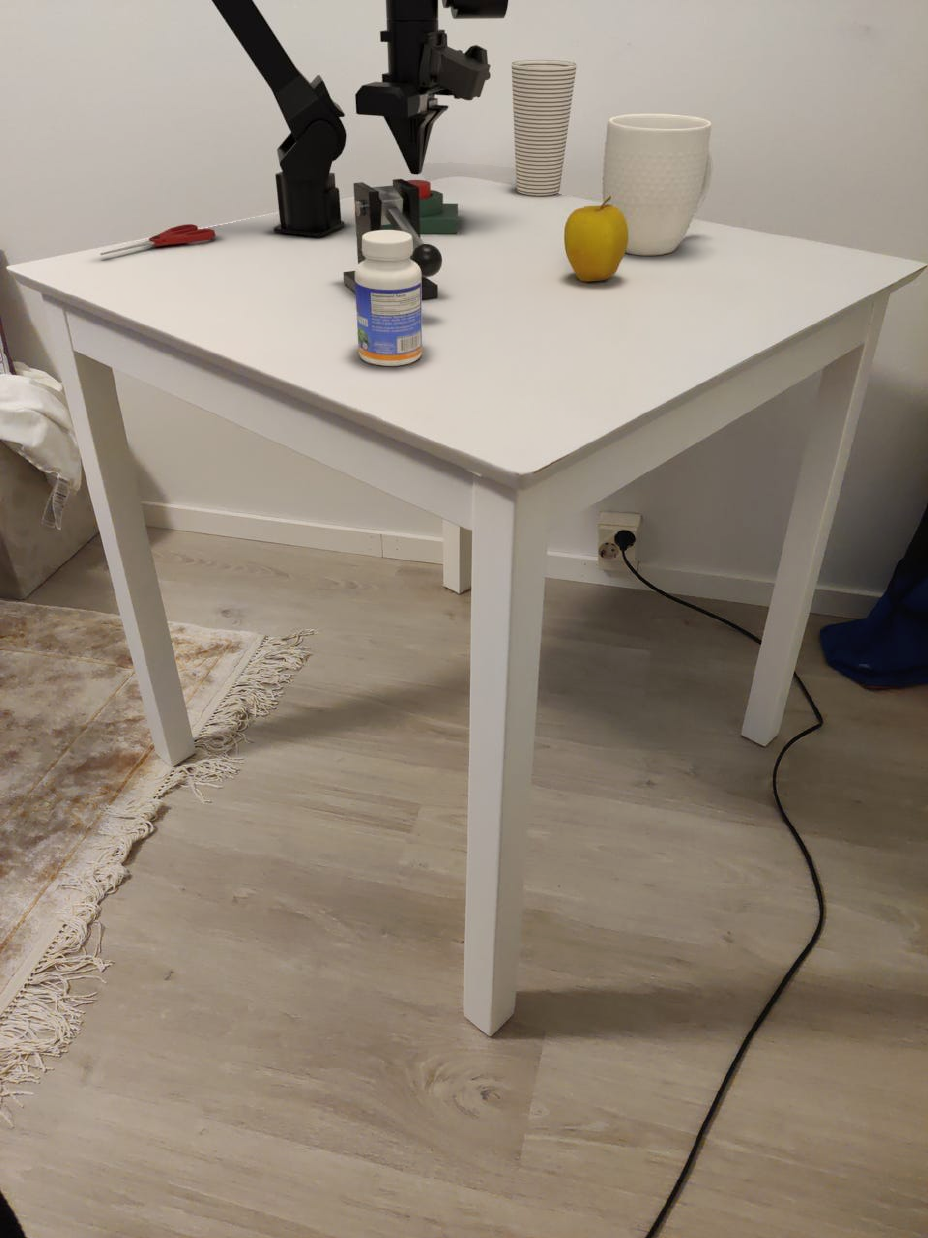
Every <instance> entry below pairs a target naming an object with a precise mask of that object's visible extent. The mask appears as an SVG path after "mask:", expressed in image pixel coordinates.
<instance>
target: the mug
mask: <svg viewBox="0 0 928 1238" xmlns="http://www.w3.org/2000/svg"><path fill="white" fill-rule="evenodd" d="M606 126H607V127H606V135H605V136H606V137H605V143H604V146H605V147H604V156H603V164H602V165H603V170H602V172H603V173H602V174H603V175H602V200H603V203H604V202H605V201H606V200H607V199H608V198H609V197H610V196H611V199H610V200H609V201H608V202H606V203H605V205H613V206H615V207H616V208H618V209H619V210H620V211H621V212H622V213H623V215H624V217H625V220H626V223H627V227H628V245H627V248H626V251H625V254H630V255H634V256H648V257H649V256H652V257H653V256H663V255H666V254H670V253H673V252H675V250H676V249H677V248H678V246H679V245H680V243H682V240H683V239H684V237H685V236H686V235H687V233H688V230H689V228H690V226H691V223H692V222H693V218H694V217H695V214H696V213H697V212H698V211H699V210H700V208H701V206H702V205H703V203H704V202H705V199H706V197H707V194H708V192H709V189H710V186H711V181H712V176H713V158H712V153H711V150H710V140H711V139H710V138H711V131H712V122H711V121H710V120H708V119H706V118H702V117H698V116H692V115H685V114H684V115H682V114H672V113H631V114H621V115H617V116H612V117H610V118H608V120H607V125H606Z"/></svg>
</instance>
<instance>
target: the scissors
mask: <svg viewBox="0 0 928 1238" xmlns="http://www.w3.org/2000/svg"><path fill="white" fill-rule="evenodd" d="M214 238H216V231H215V230H214V229H213V228H212V229H211V228H198V225H196V224H193V223H192V224H191V223H189V224H188V223H187V224H181V225H176V226H174V227H170V228H169V229H166V230H165V231H162V232H160V233H158V234H155V235H153V236H151V237H149V238H148V240H146V241H144V242H139V243H136V244H133V245H129V246H124V247H120V248H117V249H112V250H108V251H103V252H100V254H99V255H100V256H104V255H109V254H113V253H117V252H121V251H126V250H131V249H135V248H136V249H137V248H141V247H145V246H152V247H156V248H157V247H161V246H169V245H178V244H186V243H196V242H203V241H209V240H212V239H214Z"/></svg>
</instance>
